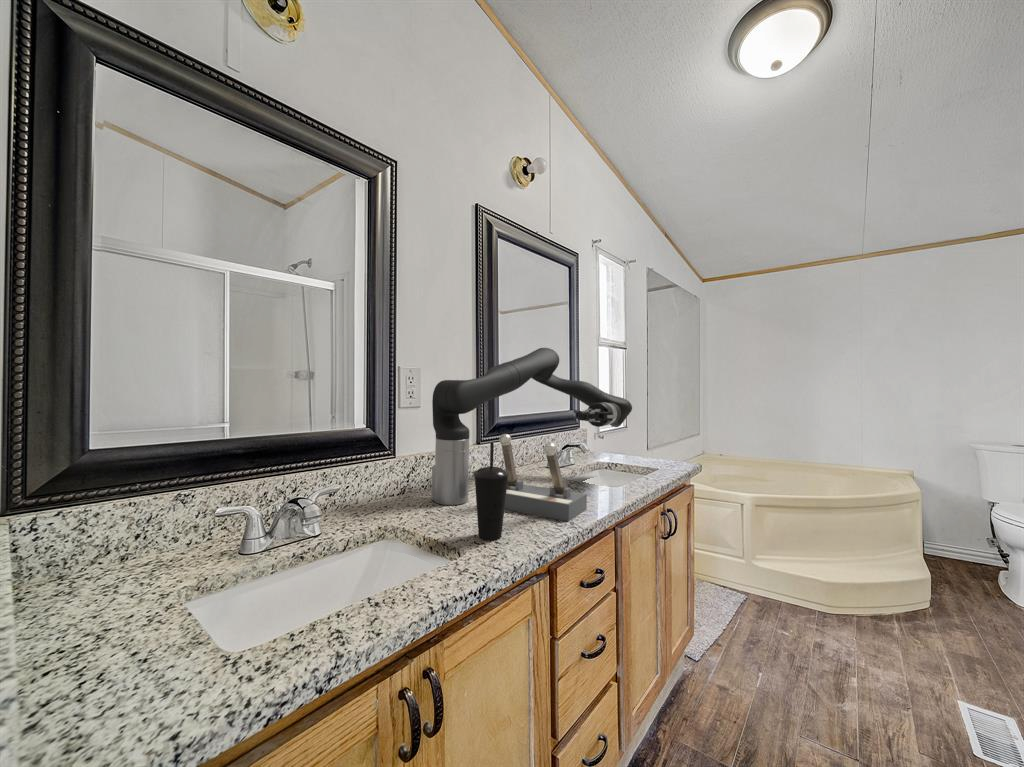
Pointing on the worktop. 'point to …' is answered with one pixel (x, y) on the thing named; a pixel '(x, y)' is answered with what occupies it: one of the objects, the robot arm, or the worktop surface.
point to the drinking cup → (490, 499)
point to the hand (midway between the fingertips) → (582, 416)
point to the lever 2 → (554, 467)
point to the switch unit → (545, 501)
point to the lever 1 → (508, 458)
